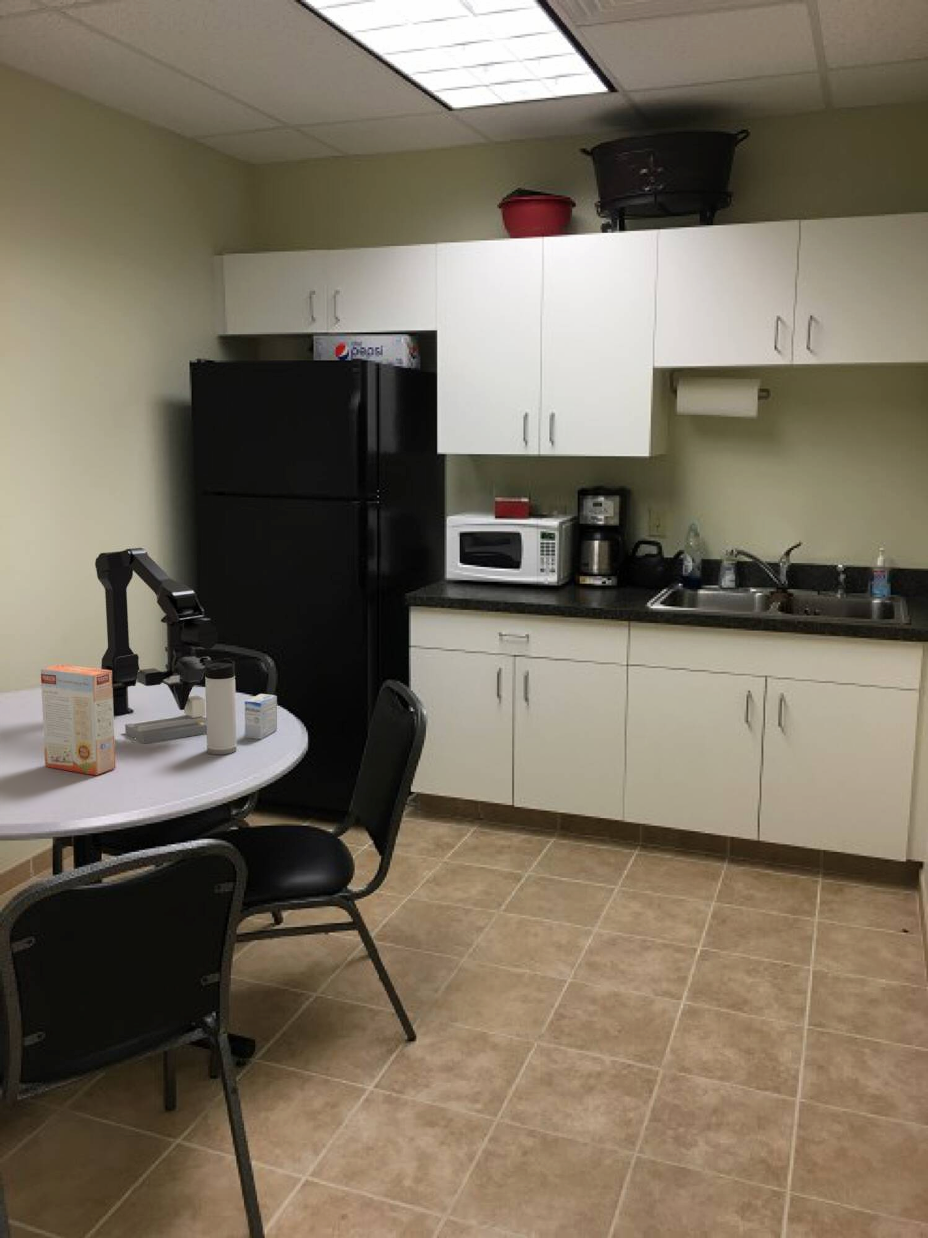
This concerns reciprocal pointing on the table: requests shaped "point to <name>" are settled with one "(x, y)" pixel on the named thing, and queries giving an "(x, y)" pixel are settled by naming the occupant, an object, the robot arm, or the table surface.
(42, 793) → the table surface
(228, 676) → the travel mug
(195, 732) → the console
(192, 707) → the fader
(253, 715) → the medicine box
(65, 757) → the cracker box
